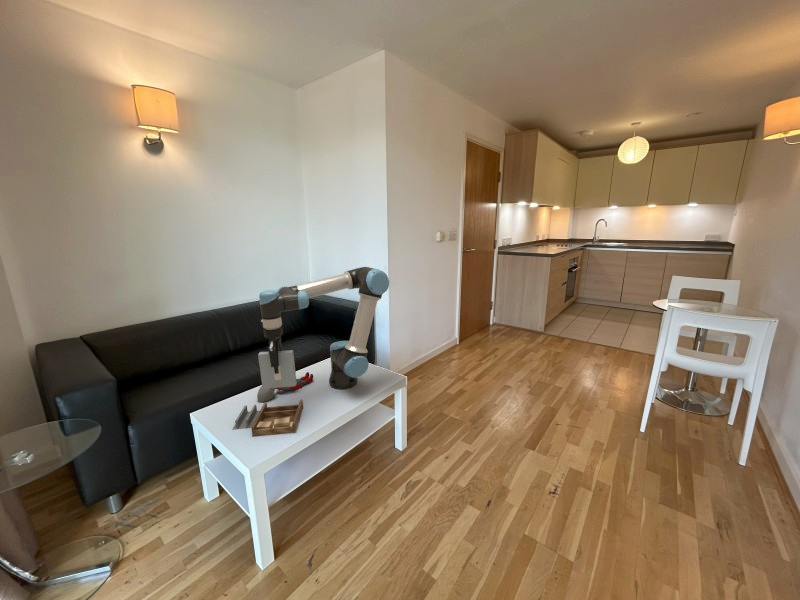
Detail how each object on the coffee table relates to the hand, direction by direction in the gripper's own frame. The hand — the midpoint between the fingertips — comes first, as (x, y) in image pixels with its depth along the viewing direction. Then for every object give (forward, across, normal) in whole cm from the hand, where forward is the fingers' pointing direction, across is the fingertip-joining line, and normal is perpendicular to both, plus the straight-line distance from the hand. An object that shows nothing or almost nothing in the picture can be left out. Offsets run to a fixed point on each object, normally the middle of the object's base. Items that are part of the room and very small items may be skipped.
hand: (279, 377), depth 143 cm
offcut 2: (+16, +12, +2) cm, 20 cm away
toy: (+19, -22, -4) cm, 30 cm away
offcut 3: (+18, +12, +3) cm, 22 cm away
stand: (+19, +3, -15) cm, 24 cm away
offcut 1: (+18, +12, -5) cm, 22 cm away
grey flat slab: (+4, 0, 0) cm, 4 cm away
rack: (+19, +6, 0) cm, 20 cm away
